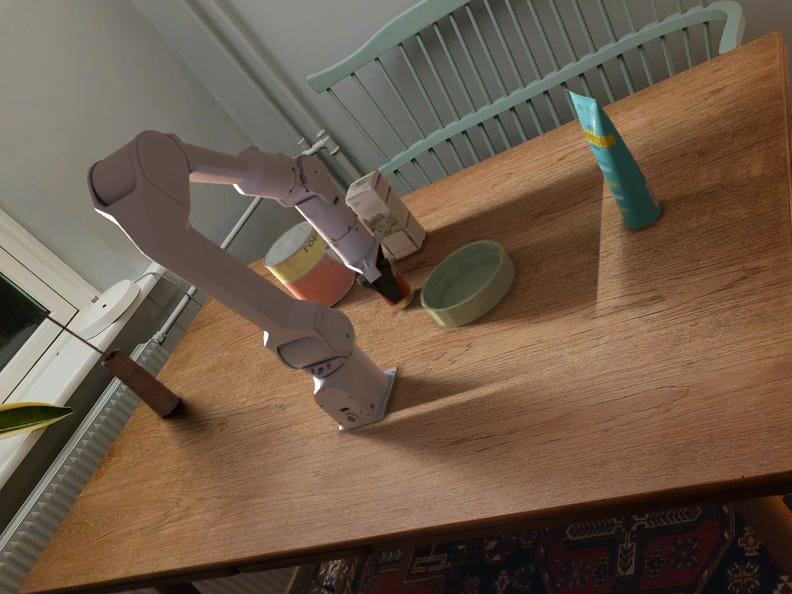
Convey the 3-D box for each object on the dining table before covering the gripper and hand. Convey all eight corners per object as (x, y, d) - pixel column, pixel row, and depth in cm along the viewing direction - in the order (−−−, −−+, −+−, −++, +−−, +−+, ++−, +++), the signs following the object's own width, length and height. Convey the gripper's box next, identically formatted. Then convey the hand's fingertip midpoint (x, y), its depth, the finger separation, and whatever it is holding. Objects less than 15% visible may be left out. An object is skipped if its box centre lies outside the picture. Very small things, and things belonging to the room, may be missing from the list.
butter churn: (200, 382, 137) (76, 282, 120) (174, 422, 132) (40, 323, 115) (174, 387, 142) (52, 292, 125) (148, 426, 137) (17, 332, 120)
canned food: (360, 283, 126) (316, 234, 119) (311, 322, 127) (265, 275, 120) (350, 260, 135) (308, 213, 128) (304, 296, 136) (261, 251, 129)
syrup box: (427, 231, 125) (377, 166, 116) (422, 251, 121) (370, 186, 112) (401, 243, 127) (351, 181, 119) (396, 263, 123) (343, 200, 115)
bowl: (511, 312, 95) (496, 292, 93) (427, 341, 102) (412, 322, 100) (522, 247, 104) (508, 227, 102) (445, 277, 111) (430, 259, 109)
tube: (615, 221, 96) (550, 102, 84) (642, 198, 96) (580, 75, 84) (647, 236, 90) (582, 110, 78) (676, 212, 90) (615, 82, 78)
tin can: (411, 305, 109) (388, 278, 106) (388, 314, 112) (364, 288, 108) (417, 285, 112) (395, 259, 109) (394, 294, 115) (372, 268, 111)
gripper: (371, 229, 97) (427, 297, 105) (355, 196, 108) (406, 259, 116) (331, 260, 97) (389, 325, 105) (319, 224, 109) (372, 284, 117)
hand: (396, 292), depth 111 cm, fingers closed on tin can, 4 cm apart
